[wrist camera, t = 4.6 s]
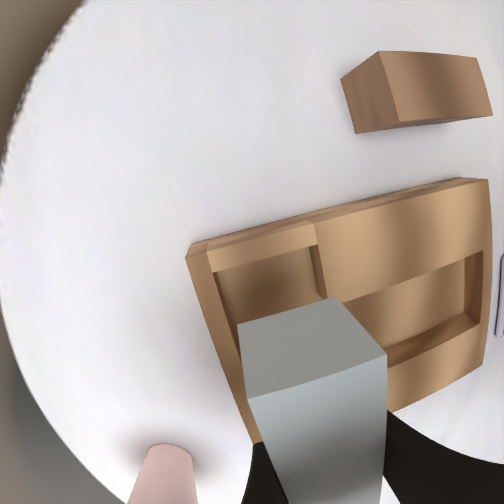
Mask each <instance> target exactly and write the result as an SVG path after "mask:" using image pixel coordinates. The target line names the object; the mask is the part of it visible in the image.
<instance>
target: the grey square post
mask: <svg viewBox="0 0 504 504" xmlns="http://www.w3.org/2000/svg"><path fill="white" fill-rule="evenodd" d="M237 328H238V336H239V343H240V351H241V359H242V366H243V374H244V381H245V388H246V395H247V400H248V403H249V406H250V408H251V411H252V414H253V416H254V419H255V421H256V424H257V426H258V429H259V432H260V434H261V437H262V439H263V442H264V444H265V447H266V449H267V452H268V454H269V457H270V459H271V462H272V464H273V466H274V469H275V471H276V474H277V476H278V478H279V481H280V483H281V485H282V488H283V490H284V492H285V495H286V497H287V499H288V502H289V504H379V501H380V494H381V486H382V477H383V467H384V455H385V442H386V423H387V354H386V352H385V351H384V350H383V349H382V348H381V347H380V346H379V344H378V343H377V342H376V341H375V340H374V339H373V338H372V337H371V335H370V334H369V333H368V332H367V331H366V330H365V329H364V328H363V326H362V325H361V324H360V323H359V322H358V321H357V320H356V319H355V318H354V316H353V315H352V314H351V313H350V312H349V311H348V310H347V309H346V308H345V306H344V305H343V304H342V303H341V302H340V301H339V300H338V299H337V298H336V297H335V296H334V297H331V298H328V299H325V300H322V301H318V302H315V303H312V304H309V305H305V306H302V307H299V308H295V309H292V310H288V311H285V312H281V313H278V314H274V315H271V316H267V317H264V318H260V319H256V320H253V321H249V322H245V323H241V324H238V325H237Z"/></svg>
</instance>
